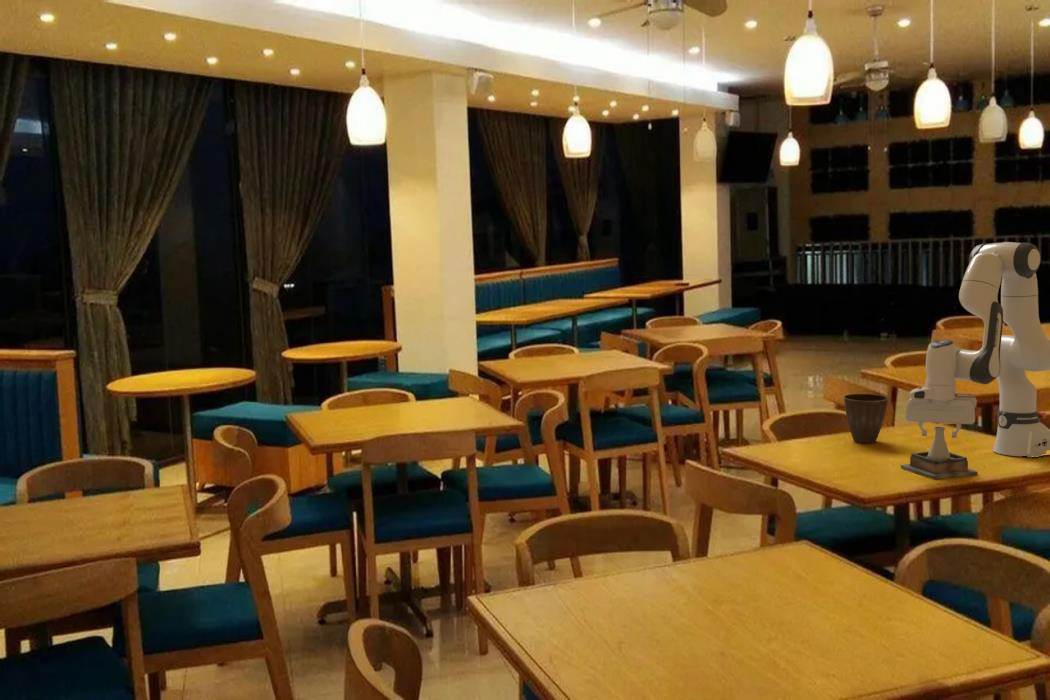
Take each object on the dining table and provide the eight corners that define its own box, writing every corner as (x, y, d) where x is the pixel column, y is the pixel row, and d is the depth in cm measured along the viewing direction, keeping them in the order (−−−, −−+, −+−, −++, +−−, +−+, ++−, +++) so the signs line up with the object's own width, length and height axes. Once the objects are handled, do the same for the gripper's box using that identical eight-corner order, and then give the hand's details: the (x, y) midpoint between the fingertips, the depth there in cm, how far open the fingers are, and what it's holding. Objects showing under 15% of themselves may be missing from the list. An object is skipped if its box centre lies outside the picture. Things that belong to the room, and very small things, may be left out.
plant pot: (882, 437, 381) (883, 393, 379) (891, 446, 367) (892, 400, 365) (840, 437, 383) (840, 393, 381) (846, 445, 369) (847, 400, 367)
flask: (947, 456, 333) (948, 424, 331) (954, 461, 325) (955, 429, 324) (923, 456, 333) (924, 425, 332) (930, 461, 326) (931, 429, 325)
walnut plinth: (943, 463, 340) (943, 448, 339) (977, 474, 324) (978, 458, 324) (900, 468, 335) (900, 452, 335) (933, 479, 320) (933, 463, 319)
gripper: (976, 392, 325) (975, 436, 327) (906, 389, 334) (905, 432, 335) (976, 395, 320) (975, 440, 321) (905, 393, 328) (904, 436, 330)
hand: (939, 436), depth 328 cm, fingers open, 7 cm apart
